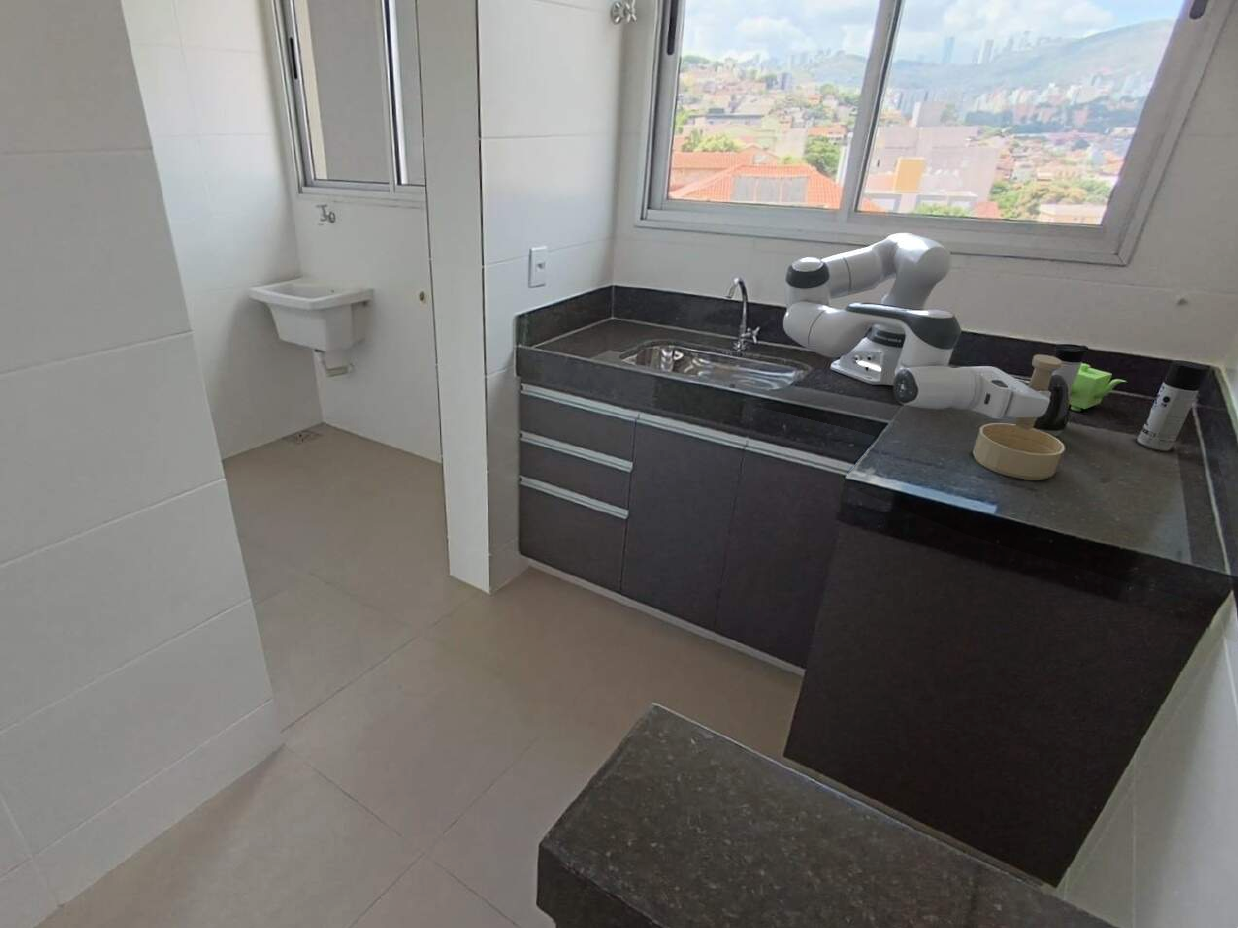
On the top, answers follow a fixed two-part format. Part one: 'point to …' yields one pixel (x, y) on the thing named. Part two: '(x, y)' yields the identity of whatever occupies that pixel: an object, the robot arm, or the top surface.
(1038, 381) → the handle
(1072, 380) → the travel mug
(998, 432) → the bowl
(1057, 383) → the black tapered dome
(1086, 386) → the kettle
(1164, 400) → the spray can
